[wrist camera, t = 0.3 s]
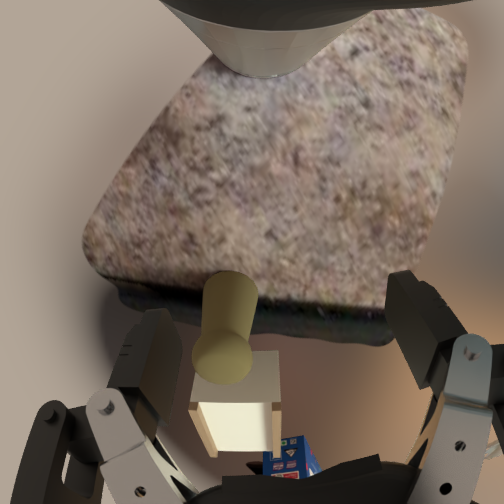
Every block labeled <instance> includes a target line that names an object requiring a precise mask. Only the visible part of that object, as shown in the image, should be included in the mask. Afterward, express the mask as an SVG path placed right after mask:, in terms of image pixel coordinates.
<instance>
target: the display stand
mask: <svg viewBox="0 0 504 504" xmlns="http://www.w3.org/2000/svg"><path fill="white" fill-rule="evenodd" d="M252 354H253V363H252V367H251V370H250V372H249V373H248V374H247V376H246V377H245V378H244V379H243V380H241V381H239V382H237V383H234V384H230V385H220V384H214V383H211V382H208V381H206V380H204V379H203V378H201V377H200V376H199V375H198V374H197V373H195V377H194V383H193V388H192V393H191V398H190V403H189V408H188V411H189V413H190V415H191V418H192V420H193V422H194V424H195V426H196V428H197V431H198V433H199V435H200V437H201V439H202V441H203V443H204V445H205V447H206V449H207V451H208V453H209V455H210V457H217V454H218V451H273V458H280V453H281V396H280V376H279V358H278V350H269V351H252Z"/></svg>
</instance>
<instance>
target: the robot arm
mask: <svg viewBox="0 0 504 504" xmlns="http://www.w3.org/2000/svg"><path fill="white" fill-rule="evenodd" d="M160 1H161V2H162V3H163V4H164V5H165V6H166V7H167V8H168V9H169V10H170V11H171V12H173V13H174V14H175V15H176V16H177V17H178V18H179V19H180V20H181V21H182V22H183V23H184V24H185V25H186V26H187V27H189V29H190V30H191V31H193V33H195V35H197V37H198V38H199V39H200V40H201V41H202V42H203V43H204V44H205V45H206V46H207V47H208V48H209V49H210V50H211V51H212V52H213V54H214V55H215V56H216V57H217V58H218V59H219V60H220V61H221V62H222V63H223V64H224V65H225V66H227V67H228V68H230V69H231V70H233V71H235V72H237V73H239V74H242V75H244V76H248V77H253V78H263V79H268V78H276V77H280V76H283V75H286V74H289V73H291V72H293V71H295V70H297V69H298V68H300V67H301V66H302V65H303V64H305V63H306V62H307V61H308V60H310V59H311V58H312V57H313V56H315V55H316V54H317V53H318V52H319V51H321V50H322V49H323V48H324V47H326V46H327V45H328V44H329V43H331V42H332V41H333V40H334V39H336V38H337V37H338V36H340V35H341V34H342V33H344V32H345V31H346V30H347V29H349V28H350V27H351V26H352V25H354V24H355V23H356V22H358V21H359V20H360V19H362V18H363V17H365V16H366V15H367V14H369V13H370V12H372V11H373V10H384V9H407V8H423V7H433V6H442V5H448V4H455V3H460V2H465V1H471V0H160ZM385 316H386V320H387V323H388V325H389V327H390V329H391V331H392V333H393V334H394V336H395V338H396V340H397V342H398V344H399V346H400V349H401V351H402V353H403V354H404V357H405V359H406V361H407V363H408V365H409V367H410V369H411V372H412V374H413V376H414V378H415V380H416V382H417V384H418V387H419V389H420V390H421V389H424V388H426V387H429V386H430V387H431V389H432V391H433V393H432V395H431V398H430V401H429V404H428V407H427V410H426V413H425V416H424V420H423V422H422V425H421V428H420V431H419V434H418V436H417V439H416V441H415V443H414V445H413V447H412V449H411V451H410V453H409V455H408V457H407V459H406V461H405V463H404V464H403V463H397V462H387V461H382V462H381V461H380V458H379V454H376V455H372V456H369V457H364V458H360V459H356V460H352V461H348V462H343V463H340V464H338V465H336V466H333V467H331V468H329V469H326V470H324V471H321V472H319V473H317V474H314V475H312V476H309V477H306V478H302V479H295V478H284V477H276V476H268V475H261V474H260V475H246V476H245V475H244V476H222V484H221V485H217V486H214V487H212V488H209V489H207V490H204V491H202V492H200V493H199V492H198V490H197V489H196V488H195V487H194V486H193V484H192V483H191V482H190V481H189V480H188V479H187V478H186V477H185V476H184V475H183V473H182V472H181V470H180V469H179V468H178V466H177V465H176V463H175V462H174V461H173V459H172V458H171V456H170V455H169V453H168V452H167V450H166V449H165V447H164V446H163V444H162V443H161V441H160V440H159V438H158V436H157V435H156V430H157V426H169V421H170V415H171V410H172V404H173V398H174V392H175V387H176V382H177V376H178V372H179V366H180V361H181V356H182V343H181V339H180V336H179V334H178V332H177V329H176V327H175V325H174V323H173V320H172V318H171V316H170V313H169V311H168V310H167V309H166V308H160V309H151V310H146V311H145V313H144V315H143V317H142V320H141V323H140V324H138V325H135V326H134V327H133V328H132V329H131V330H130V332H129V333H128V334H127V335H126V338H125V340H124V343H123V345H122V346H123V347H122V348H121V350H120V353H119V356H118V358H117V361H116V363H115V366H114V369H113V371H112V374H111V377H110V379H109V382H108V385H107V388H105V389H102V390H100V391H98V392H96V393H95V394H93V396H91V398H90V399H89V401H88V402H87V405H85V406H80V407H76V408H72V409H68V408H67V407H66V406H65V405H64V404H63V403H62V402H60V401H57V400H52V401H49V402H47V403H45V404H44V405H43V406H42V407H41V408H40V409H39V411H38V413H37V415H36V418H35V420H34V423H33V426H32V429H31V431H30V434H29V437H28V440H27V443H26V447H25V449H24V453H23V456H22V459H21V463H20V466H19V470H18V474H17V477H16V481H15V485H14V489H13V493H12V497H11V502H10V504H101V498H102V491H103V485H104V480H105V482H106V484H107V486H108V488H109V490H110V492H111V494H112V496H113V498H114V500H115V502H116V504H478V503H477V502H475V501H473V500H471V499H472V496H473V493H474V490H475V487H476V484H477V481H478V478H479V474H480V471H481V467H482V464H483V460H484V455H485V452H486V447H487V443H488V438H489V433H490V428H491V423H492V425H493V427H494V430H495V432H496V435H497V438H498V440H499V443H500V446H501V449H502V451H503V454H504V344H497V345H490V344H489V343H488V341H487V340H486V339H484V338H483V337H481V336H479V335H476V334H468V332H467V331H466V330H465V328H464V327H463V325H462V324H461V323H460V321H459V320H458V319H457V317H456V316H455V314H454V313H453V312H452V310H451V309H450V308H449V306H447V303H446V302H445V301H444V300H443V299H442V298H441V296H440V294H439V293H438V292H437V290H436V289H435V288H434V287H433V286H431V285H429V284H428V283H426V282H425V281H420V282H419V281H418V280H417V278H416V277H415V276H414V274H413V273H412V272H411V271H410V270H405V271H400V272H395V273H390V274H389V276H388V283H387V292H386V301H385ZM67 453H68V454H69V455H71V456H70V460H69V464H68V468H67V473H66V477H65V482H64V484H63V482H62V477H61V476H62V470H63V466H64V462H65V458H66V454H67Z"/></svg>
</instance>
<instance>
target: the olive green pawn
mask: <svg viewBox="0 0 504 504" xmlns="http://www.w3.org/2000/svg"><path fill="white" fill-rule="evenodd" d="M257 300H258V289H257V287H256V285H255V283H254V282H253V281H252V280H251V279H250V278H249V277H248V276H246V275H244V274H242V273H239V272H234V271H223V272H219V273H217V274H214V275H212V276H211V277H210V278H209V279H208V280H207V281H206V283H205V285H204V288H203V305H202V332H201V336H200V337H199V338H198V340H197V342H196V343H195V345H194V347H193V349H192V365H193V367H194V369H195V371H196V373H197V374H198V375H199V376H200V377H201V378H203V379H204V380H206V381H208V382H211V383H214V384H220V385H230V384H234V383H237V382H239V381H241V380H243V379H244V378H245V377H246V376H247V374H248V373H249V372H250V370H251V367H252V363H253V354H252V350H251V347H250V345H249V343H248V339H249V335H250V330H251V326H252V322H253V317H254V313H255V309H256V304H257Z"/></svg>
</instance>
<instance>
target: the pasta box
mask: <svg viewBox="0 0 504 504" xmlns="http://www.w3.org/2000/svg"><path fill="white" fill-rule="evenodd" d="M321 471H322V470H321V468H320V466H319V464H318V462H317V460H316V458H315V456H314V454H313V453H312V450H311V449H310V447H309V445H308V443H307V441H306V439H305V437H304V435H302V436H297V437H291V438H285V439H281V453H280V458H273V451H263V475H268V476H276V477H284V478H295V479H302V478H306V477H309V476H312V475H314V474H317V473H319V472H321Z"/></svg>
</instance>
